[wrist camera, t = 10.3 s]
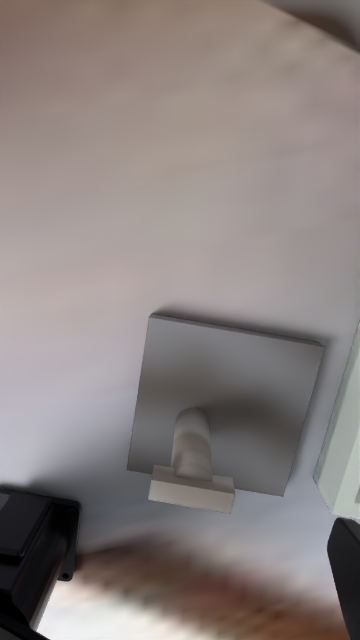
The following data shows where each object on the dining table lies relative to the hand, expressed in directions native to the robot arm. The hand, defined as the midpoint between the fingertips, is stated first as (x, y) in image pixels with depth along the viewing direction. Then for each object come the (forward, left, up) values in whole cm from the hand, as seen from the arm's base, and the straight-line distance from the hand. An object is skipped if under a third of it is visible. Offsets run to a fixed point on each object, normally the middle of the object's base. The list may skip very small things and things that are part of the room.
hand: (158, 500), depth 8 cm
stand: (-3, -3, -12) cm, 13 cm away
